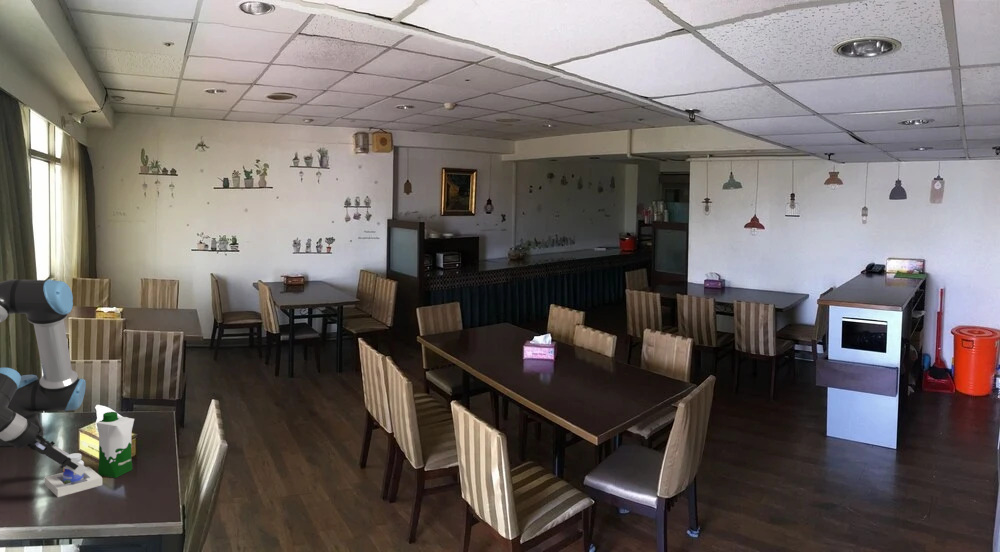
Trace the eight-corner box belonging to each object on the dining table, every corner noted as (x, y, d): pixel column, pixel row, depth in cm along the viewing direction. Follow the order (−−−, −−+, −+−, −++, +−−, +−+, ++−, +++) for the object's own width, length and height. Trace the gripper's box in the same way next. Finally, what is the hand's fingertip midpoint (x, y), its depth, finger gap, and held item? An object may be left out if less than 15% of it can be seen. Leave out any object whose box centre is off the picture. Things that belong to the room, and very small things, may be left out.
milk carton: (114, 465, 208) (115, 408, 206) (137, 469, 206) (137, 412, 204) (92, 475, 200) (93, 416, 198) (116, 479, 198) (116, 420, 196)
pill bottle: (58, 486, 191) (58, 456, 190) (76, 479, 196) (76, 450, 195) (70, 490, 189) (70, 460, 188) (87, 483, 194) (87, 454, 193)
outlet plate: (44, 484, 191) (44, 476, 191) (88, 473, 201) (88, 465, 201) (57, 497, 184) (57, 488, 184) (102, 485, 194) (102, 477, 193)
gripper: (-7, 430, 184) (52, 464, 198) (19, 454, 170) (81, 488, 183) (14, 410, 188) (71, 444, 202) (42, 431, 173) (100, 466, 187)
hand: (76, 465), depth 192 cm, fingers open, 13 cm apart
